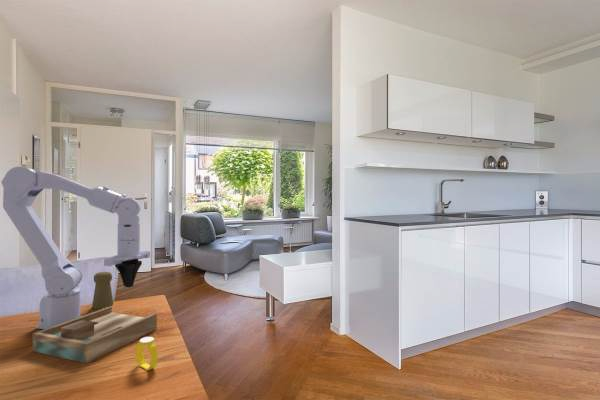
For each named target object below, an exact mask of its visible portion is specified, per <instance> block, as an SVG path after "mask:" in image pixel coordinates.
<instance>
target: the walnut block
mask: <svg viewBox="0 0 600 400" xmlns="http://www.w3.org/2000/svg"><path fill="white" fill-rule="evenodd" d="M93 335H94V322H89V321H84V320H81V321H78V322H76V323H73V324H70V325H67V326H64V327H62V328H61V337H66V338H71V339H76V340H83V339H86V338H88V337H90V336H93Z"/></svg>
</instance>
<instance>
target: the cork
mask: <svg viewBox="0 0 600 400" xmlns="http://www.w3.org/2000/svg"><path fill="white" fill-rule="evenodd" d="M112 280H113V273H112V272H110V271H99V272H97V273H95V274H94V276H93V282H94V283H95V285H94V293H93V298H92V299H93V300H92V305H91V309H93V308H95V309H94V310H101V309H100V308H106V307H110V306H112V305H113V304H114V299H113V292H112V286H111V285H112V284H111V282H112ZM113 306H114V305H113ZM113 306H112V307H113Z"/></svg>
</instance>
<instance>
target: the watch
mask: <svg viewBox="0 0 600 400" xmlns="http://www.w3.org/2000/svg"><path fill="white" fill-rule="evenodd" d="M145 346H146V347H147V349H148V351H149V354H150V363H147V362H146V359H145V357H144V352H143V349H144V347H145ZM157 349H158V348H157V346H156V344H155V338H154V337H153V336H144V337H142V338H140V339H139V341H138V343H137V344H136V346H135V356H136V357H135V358H136V361H137V362H136V363H138V366H139V367H140V368H142V369H144V370H146V371H150V370H153V369H154V368H155V367H156V366H157V365H158V364H157V363H158V362H159V361H158V360H159V357H158V354H159V353H158V350H157Z"/></svg>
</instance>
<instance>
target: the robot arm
mask: <svg viewBox="0 0 600 400" xmlns="http://www.w3.org/2000/svg"><path fill="white" fill-rule="evenodd" d="M1 185H2V187H3V188H2V189H3V195H2V207H3V210H4V211H5V213H6V214H7V216H8V217H9V219H10V220H11V222H12V224H13V225H14V226H15V229H16V230H17V231H18V232H19V234H20V236H21V237H22V238H23V240H24V241H25V244H27V246H28V247H29V249H30V251H31V253H32V254H33V255H34V256H35V259H36V260H37V261H38V263H39V264H40V266H41V276H42V278H43V279H44V282H45V283H44V287H45V290H46V292H47V293H45V294H44V295H43V296H42V298H41V299H40V302H39V306H38V307H39V308H38V309H39V312H38V313H39V324H38V325H36V326H35V328H36V329H40V330H44V329H47V328H50V327H53V326H55V325H58V324H61V323H64V322H67V321H70V320H73V319H75V318H78V317H81V288H80V287H79V284H80V283H81V282H82V279H83V273H82V271H81V269H80V268H79V267H77V266H75V265H74V264H73V263H72V262H71V261H70V260H69V258H67V257H65V256H64V255H63V253H62V252H61V250H60V249H59V247H58V245H56V242H55V241H54V239H53V238H52V237H51V235H50V233H49V232H48V230H47V229H46V227H45V225H44V224H43V222H42V220H41V219H40V218H39V216H38V214H37V213H36V212H35V210H34V208H33V207H32V205H33V204H34V202H35V199H36V197H37V196H38V195H39V194H40V193H41V192H42V191H44V189H45V190H53V189H57V190H60V191H62V192H65V193H69V194H71V195H74V196H78V197H81V198H83V199H86V200H87V202H88V204H89V206H92V207H95V208H97V209H100V210H102V211H106V212H108V213H111V214H115V213H116V215H117V216H118V217H117V218H118V219H117V221H118V222H117V255H113V256H110V257H107V258H104V259H103V266H104V267H112V266H113V265H114V266H115V268H116V269H117V271H118V272H119V274H120V278H121V281H122V284H123V287H124V288H131V287H134V284H135V279H136V276H137V274H138V272H139V270H140V267H141V266H142V265H143V261H142V259H149V258H151V251H149V250H148V251H147V250H144V251H143V250H142V251H140V249H141V248H140V244H141V242H140V241H141V237H140V236H141V234H140V232H141V227H140V226H141V225H140V215H139V213H140V212H141V209H142V208H141V204H140V203H139V201H138V200H137V199H135V198H133V197H127V195H126V194H125V193H122V194H120V193H118V192H115V191H112V190H110V187H108V186H97V187H94V188H91V187H89V186H86V185H84V184H81V183H79V182H76V181H74V180H71V179H69V178H67V177H65V176H62V175H58V174H56V173H51V172H48V171H47V172H46V171H44V170H43V171H42V170H40V169H37V168H36V169H35V168H29V167H26V166H15V167H11V168H10V169H9V170H8V171H7V172H6V173H5V175H4V177H3V178H2V180H1Z"/></svg>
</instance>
